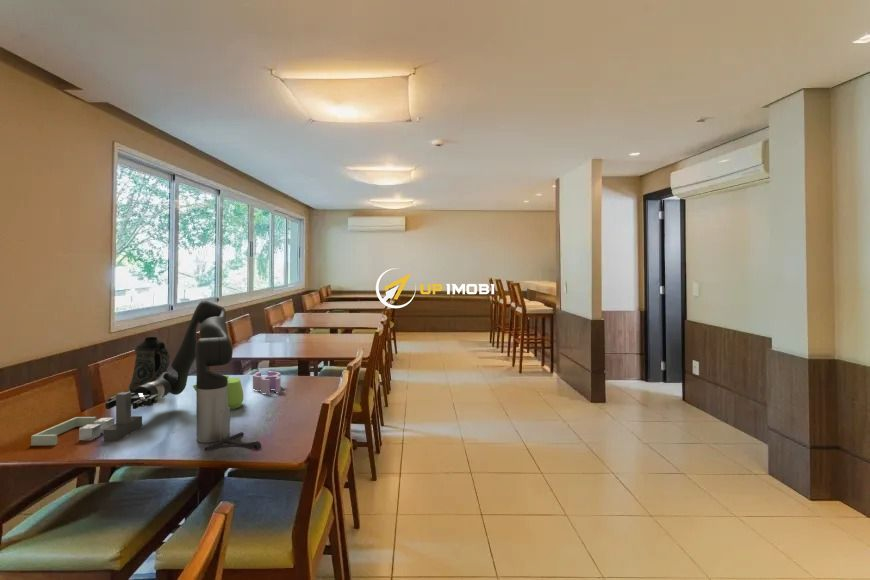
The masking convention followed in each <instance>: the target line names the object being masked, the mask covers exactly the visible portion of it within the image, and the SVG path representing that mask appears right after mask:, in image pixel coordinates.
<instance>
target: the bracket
mask: <svg viewBox="0 0 870 580" xmlns="http://www.w3.org/2000/svg"><path fill="white" fill-rule="evenodd" d="M243 435H244V432H242V431H240V432H238V433H236V434H234V435H231V436H228V437H226V438H225V439H224V440H222V441H216V442H214V443H212V444H211V445H208V446H205V448H204V451H206V450H207V451H213V450H219V449H224V448H232V447H233V448H234V447H243V448H248V449H253V448H254V449H253V450H260V449H262V444H261V442H260V441H259V440H256V441H251V442H246V441H245V442H243V441H242V438H243V437H244V436H243ZM255 448H256V449H255ZM259 448H260V449H259Z"/></svg>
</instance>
